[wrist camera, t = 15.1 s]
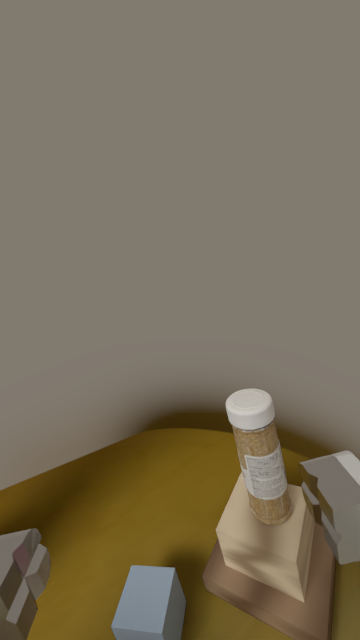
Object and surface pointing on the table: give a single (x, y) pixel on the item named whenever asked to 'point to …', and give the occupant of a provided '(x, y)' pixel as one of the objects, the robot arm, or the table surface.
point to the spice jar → (260, 454)
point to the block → (150, 605)
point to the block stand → (274, 567)
